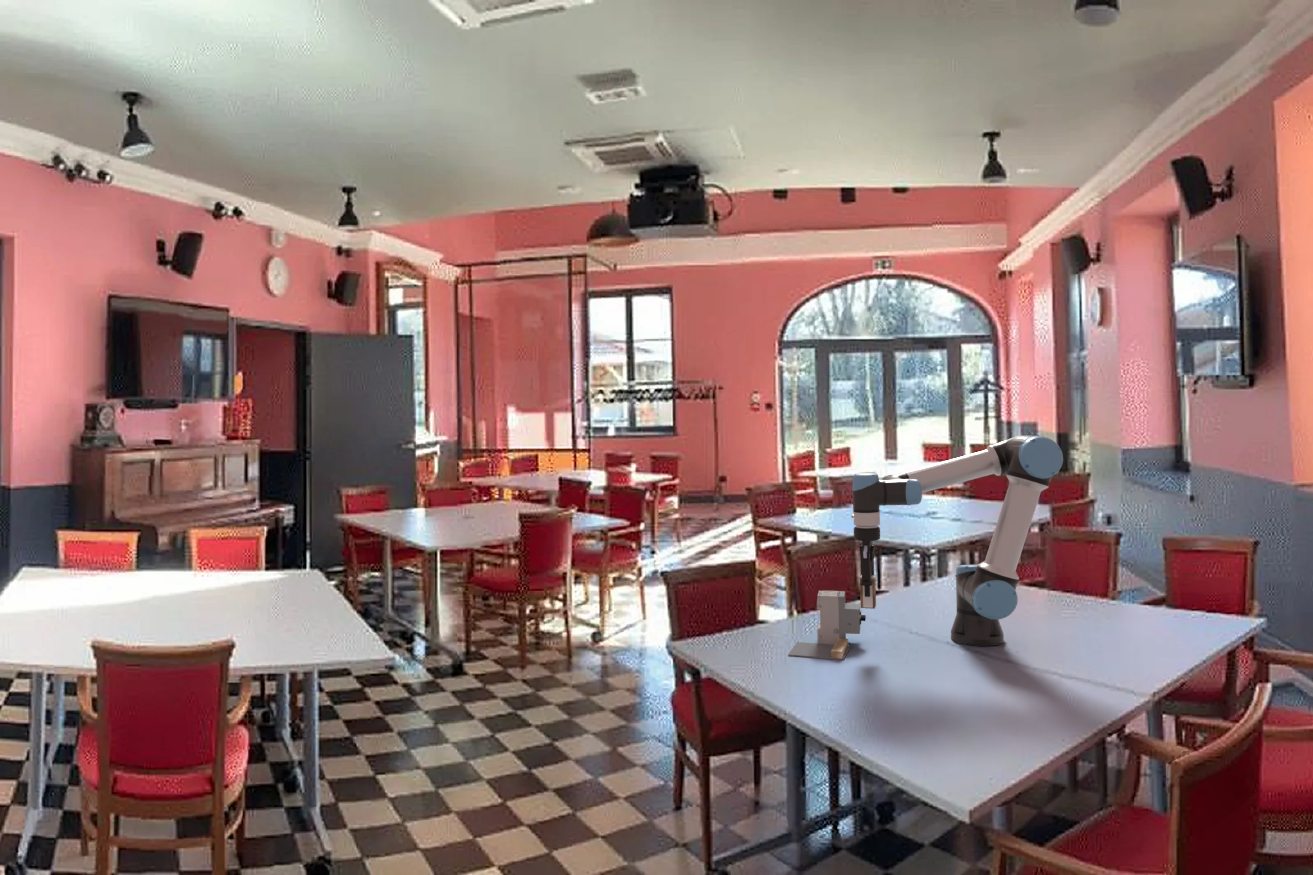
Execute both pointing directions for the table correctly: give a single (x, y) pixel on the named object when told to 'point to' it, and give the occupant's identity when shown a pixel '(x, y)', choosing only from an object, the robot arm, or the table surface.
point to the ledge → (839, 648)
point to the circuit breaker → (837, 617)
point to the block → (872, 589)
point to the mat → (814, 650)
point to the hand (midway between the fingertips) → (868, 605)
